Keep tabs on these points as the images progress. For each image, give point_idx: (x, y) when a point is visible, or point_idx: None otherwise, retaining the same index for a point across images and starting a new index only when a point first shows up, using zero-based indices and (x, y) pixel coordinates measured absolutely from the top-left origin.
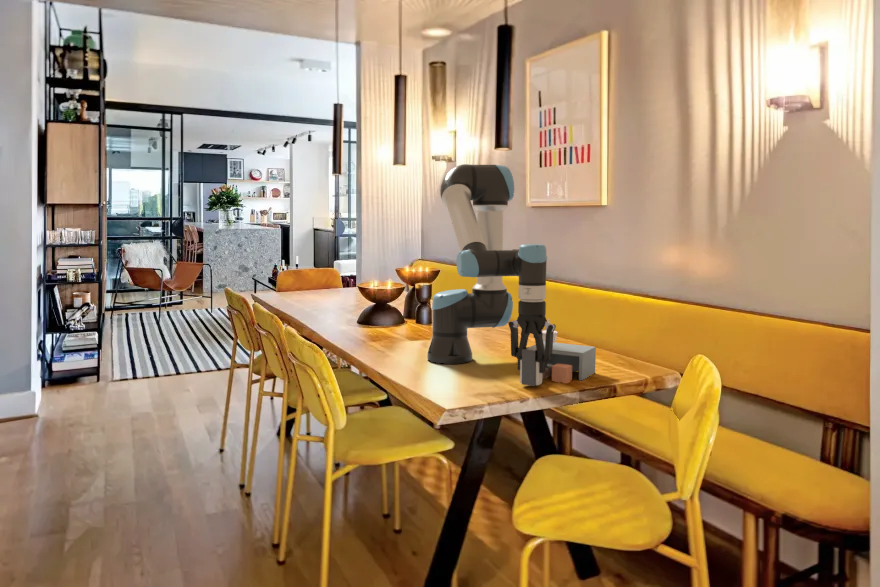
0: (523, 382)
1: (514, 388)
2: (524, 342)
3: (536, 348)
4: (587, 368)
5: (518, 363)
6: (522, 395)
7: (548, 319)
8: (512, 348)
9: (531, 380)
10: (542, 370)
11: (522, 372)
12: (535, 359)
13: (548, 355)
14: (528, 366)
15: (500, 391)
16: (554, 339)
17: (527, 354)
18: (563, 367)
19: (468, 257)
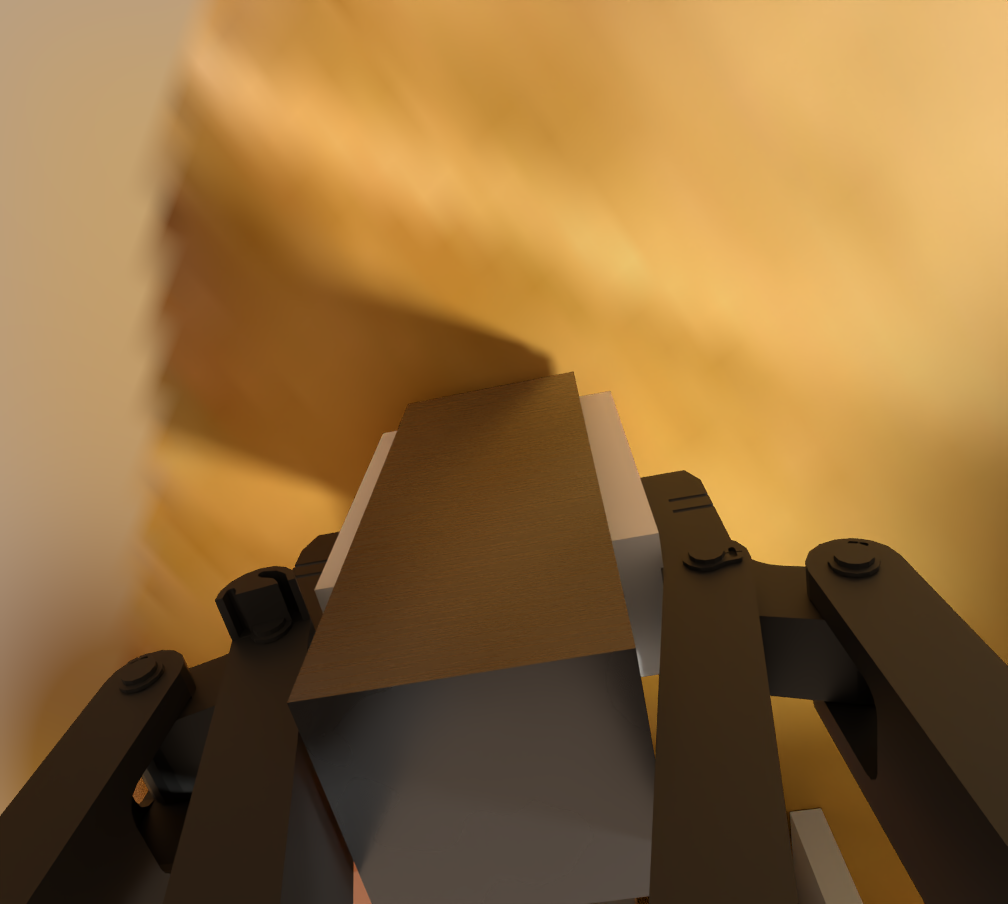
0: (551, 384)
1: (610, 270)
2: (656, 867)
3: (421, 860)
4: None
5: (701, 519)
6: (332, 57)
7: None
8: (931, 639)
9: (444, 417)
10: (310, 557)
11: (575, 428)
12: (342, 592)
13: (76, 723)
14: (477, 489)
15: (663, 10)
16: None
17: (489, 602)
18: (355, 874)
19: None
